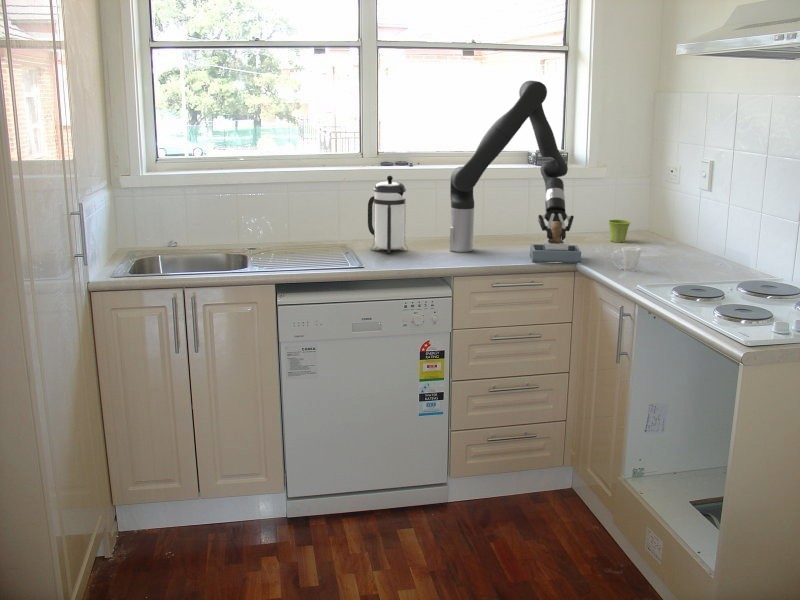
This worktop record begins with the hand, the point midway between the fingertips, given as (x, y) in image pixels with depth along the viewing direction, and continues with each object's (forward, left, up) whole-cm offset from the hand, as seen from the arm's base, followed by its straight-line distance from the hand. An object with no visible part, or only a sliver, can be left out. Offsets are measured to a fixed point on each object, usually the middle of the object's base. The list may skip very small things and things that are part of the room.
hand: (556, 238), depth 301 cm
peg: (0, +2, -6) cm, 6 cm away
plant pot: (+31, +42, -9) cm, 53 cm away
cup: (+24, -13, -9) cm, 28 cm away
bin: (0, +2, -8) cm, 9 cm away
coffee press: (-66, +11, -9) cm, 68 cm away
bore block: (0, +2, -8) cm, 9 cm away
